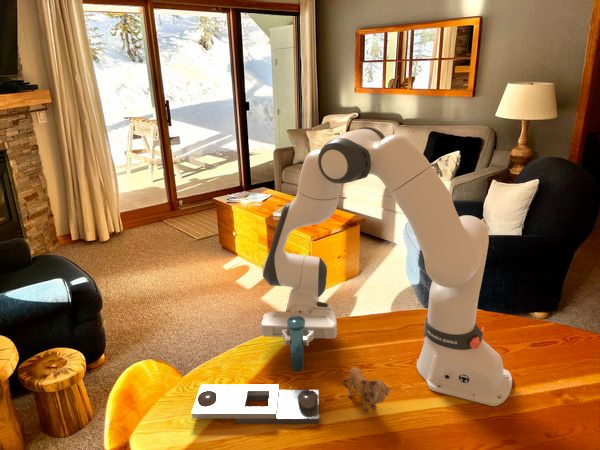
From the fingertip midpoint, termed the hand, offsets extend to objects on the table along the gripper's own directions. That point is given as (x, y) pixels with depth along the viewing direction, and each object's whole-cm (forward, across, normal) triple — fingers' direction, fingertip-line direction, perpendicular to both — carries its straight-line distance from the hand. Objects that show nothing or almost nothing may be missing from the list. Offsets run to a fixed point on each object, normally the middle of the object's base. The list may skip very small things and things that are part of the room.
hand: (296, 343), depth 116 cm
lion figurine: (+10, +17, +8) cm, 21 cm away
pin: (-1, 0, +8) cm, 8 cm away
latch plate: (+14, -8, +8) cm, 18 cm away
